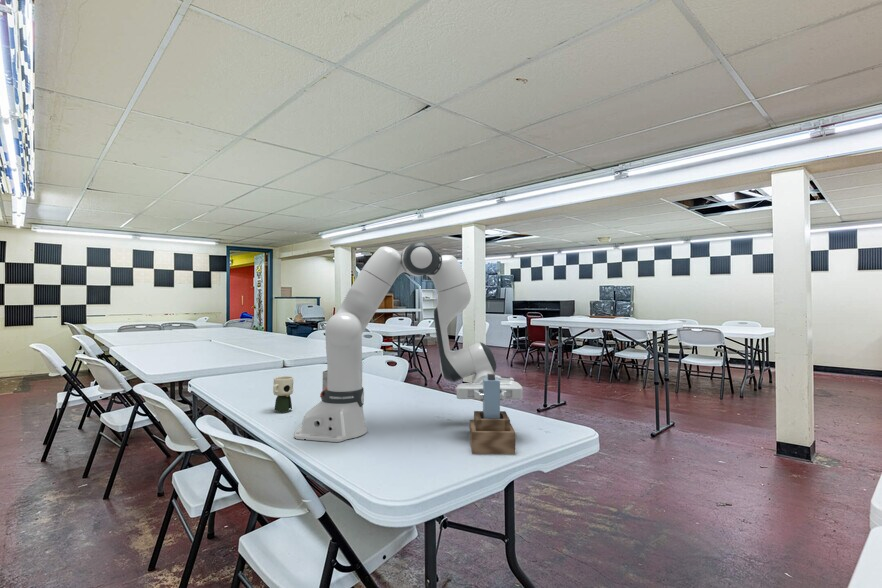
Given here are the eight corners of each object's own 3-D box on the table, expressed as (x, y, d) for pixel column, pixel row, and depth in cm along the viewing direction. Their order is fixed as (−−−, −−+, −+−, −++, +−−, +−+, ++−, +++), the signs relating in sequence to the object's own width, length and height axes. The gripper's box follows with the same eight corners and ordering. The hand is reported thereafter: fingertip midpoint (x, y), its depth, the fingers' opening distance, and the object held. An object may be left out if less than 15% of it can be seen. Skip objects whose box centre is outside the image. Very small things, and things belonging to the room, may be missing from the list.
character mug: (281, 416, 152) (281, 380, 152) (265, 414, 154) (265, 379, 154) (300, 408, 162) (300, 375, 162) (284, 407, 164) (285, 374, 165)
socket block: (472, 454, 114) (472, 421, 114) (469, 439, 126) (469, 410, 126) (515, 454, 114) (515, 421, 114) (508, 439, 126) (508, 410, 126)
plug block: (484, 423, 118) (484, 375, 118) (482, 418, 122) (482, 373, 122) (499, 423, 118) (499, 375, 118) (498, 418, 122) (497, 373, 122)
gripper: (454, 377, 133) (455, 386, 119) (518, 377, 133) (526, 386, 119) (454, 397, 133) (455, 408, 119) (518, 397, 133) (526, 408, 119)
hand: (491, 397), depth 119 cm, fingers closed on plug block, 4 cm apart
